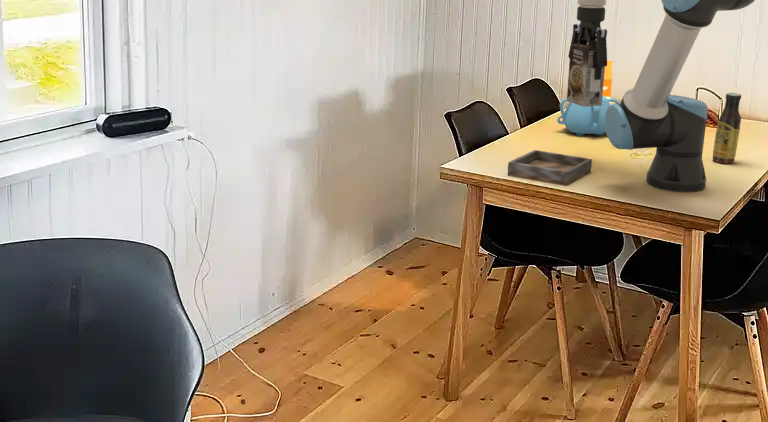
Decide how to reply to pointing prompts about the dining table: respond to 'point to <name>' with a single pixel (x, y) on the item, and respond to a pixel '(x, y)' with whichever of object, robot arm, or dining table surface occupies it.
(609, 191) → the dining table surface
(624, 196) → the dining table surface
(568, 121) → the decorative pot
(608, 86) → the orange juice
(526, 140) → the dining table surface
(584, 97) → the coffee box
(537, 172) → the tray
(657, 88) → the robot arm
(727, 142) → the sauce bottle
